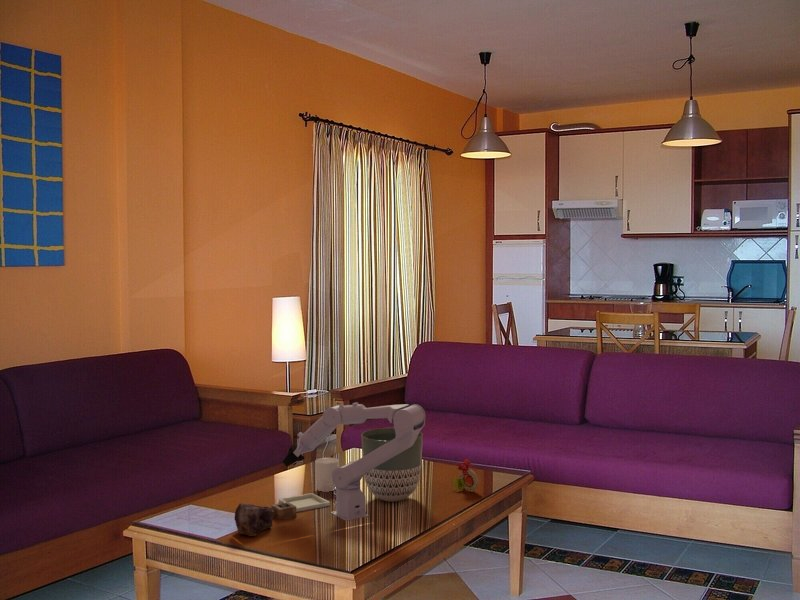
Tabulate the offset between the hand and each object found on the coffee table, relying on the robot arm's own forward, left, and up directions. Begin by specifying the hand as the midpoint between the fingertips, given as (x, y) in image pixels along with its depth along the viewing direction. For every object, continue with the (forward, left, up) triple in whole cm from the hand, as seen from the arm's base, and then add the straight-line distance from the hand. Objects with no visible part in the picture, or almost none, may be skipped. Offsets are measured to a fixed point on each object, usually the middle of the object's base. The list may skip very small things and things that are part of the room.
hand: (290, 458), depth 263 cm
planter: (-12, -30, -15) cm, 36 cm away
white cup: (+10, -18, -15) cm, 26 cm away
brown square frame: (-9, +7, -15) cm, 18 cm away
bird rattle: (-18, -56, -15) cm, 61 cm away
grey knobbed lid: (-9, +7, -15) cm, 19 cm away
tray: (-2, -4, -15) cm, 16 cm away
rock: (-16, +21, -15) cm, 30 cm away
